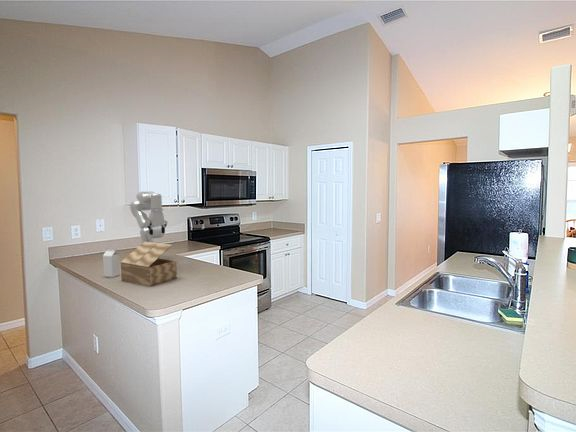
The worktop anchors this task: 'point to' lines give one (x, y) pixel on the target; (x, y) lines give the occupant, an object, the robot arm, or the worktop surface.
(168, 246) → the flap
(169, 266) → the carton
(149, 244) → the flap
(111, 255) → the milk carton
